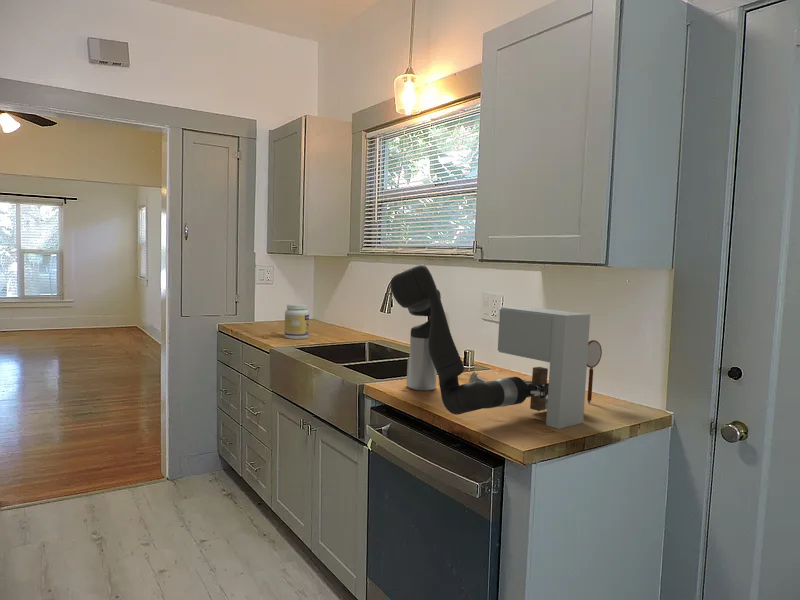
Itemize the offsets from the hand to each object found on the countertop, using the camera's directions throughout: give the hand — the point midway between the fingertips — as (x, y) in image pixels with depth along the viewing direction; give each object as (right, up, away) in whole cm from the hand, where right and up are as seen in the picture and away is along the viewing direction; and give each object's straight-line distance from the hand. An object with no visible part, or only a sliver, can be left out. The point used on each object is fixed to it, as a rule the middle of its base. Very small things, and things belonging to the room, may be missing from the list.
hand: (545, 385), depth 168 cm
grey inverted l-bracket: (-3, -8, -4) cm, 10 cm away
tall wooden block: (-1, -7, 0) cm, 7 cm away
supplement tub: (-95, +5, +126) cm, 158 cm away
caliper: (-12, -6, +19) cm, 23 cm away
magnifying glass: (+17, -8, +13) cm, 23 cm away
